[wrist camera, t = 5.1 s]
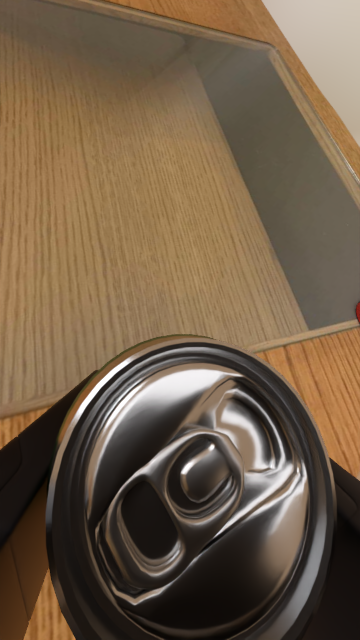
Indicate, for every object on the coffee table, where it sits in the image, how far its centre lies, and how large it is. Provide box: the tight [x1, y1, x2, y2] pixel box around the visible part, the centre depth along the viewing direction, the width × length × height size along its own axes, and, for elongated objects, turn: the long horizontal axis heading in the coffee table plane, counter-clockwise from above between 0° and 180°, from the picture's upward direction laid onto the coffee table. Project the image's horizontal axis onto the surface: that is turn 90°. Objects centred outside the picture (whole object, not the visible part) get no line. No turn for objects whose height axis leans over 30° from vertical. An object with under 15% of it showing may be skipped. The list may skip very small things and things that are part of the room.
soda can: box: [46, 334, 337, 640], centre depth 9 cm, size 5×5×12 cm
